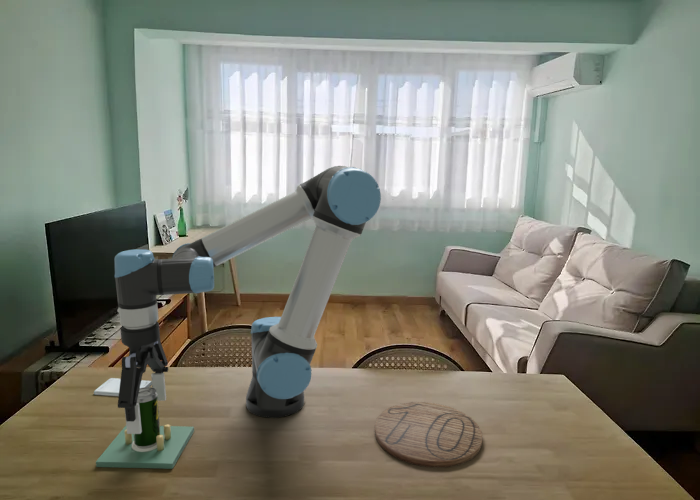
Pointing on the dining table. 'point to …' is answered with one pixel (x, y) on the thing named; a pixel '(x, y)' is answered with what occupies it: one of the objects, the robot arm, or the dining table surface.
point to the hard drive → (115, 387)
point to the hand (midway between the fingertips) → (148, 415)
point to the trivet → (428, 434)
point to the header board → (157, 456)
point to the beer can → (148, 418)
